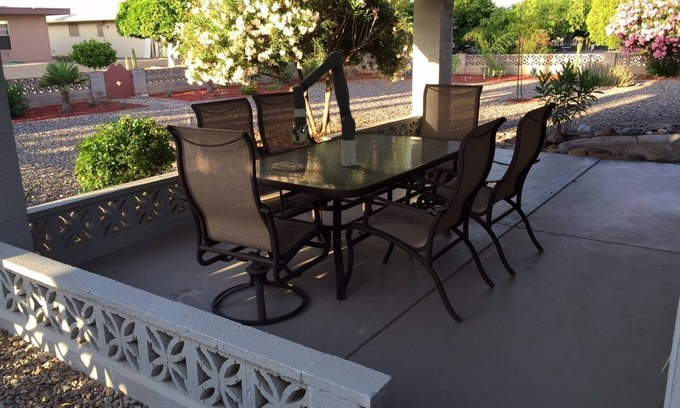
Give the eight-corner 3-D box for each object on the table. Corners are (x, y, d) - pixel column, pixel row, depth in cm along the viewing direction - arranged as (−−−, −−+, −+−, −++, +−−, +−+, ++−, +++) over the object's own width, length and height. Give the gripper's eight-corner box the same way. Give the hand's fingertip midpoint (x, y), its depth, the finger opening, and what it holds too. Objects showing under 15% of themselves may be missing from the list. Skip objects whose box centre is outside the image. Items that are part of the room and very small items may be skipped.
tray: (284, 166, 398) (284, 161, 398) (303, 168, 387) (303, 164, 387) (271, 168, 389) (271, 164, 389) (291, 171, 378) (291, 167, 378)
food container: (311, 145, 395) (311, 130, 392) (306, 146, 390) (305, 131, 387) (296, 144, 401) (295, 129, 399) (291, 145, 396) (290, 130, 394)
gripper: (303, 114, 398) (304, 139, 402) (288, 116, 388) (289, 141, 391) (311, 114, 394) (312, 139, 398) (296, 116, 383) (297, 142, 387)
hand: (301, 140), depth 394 cm, fingers closed on food container, 6 cm apart
